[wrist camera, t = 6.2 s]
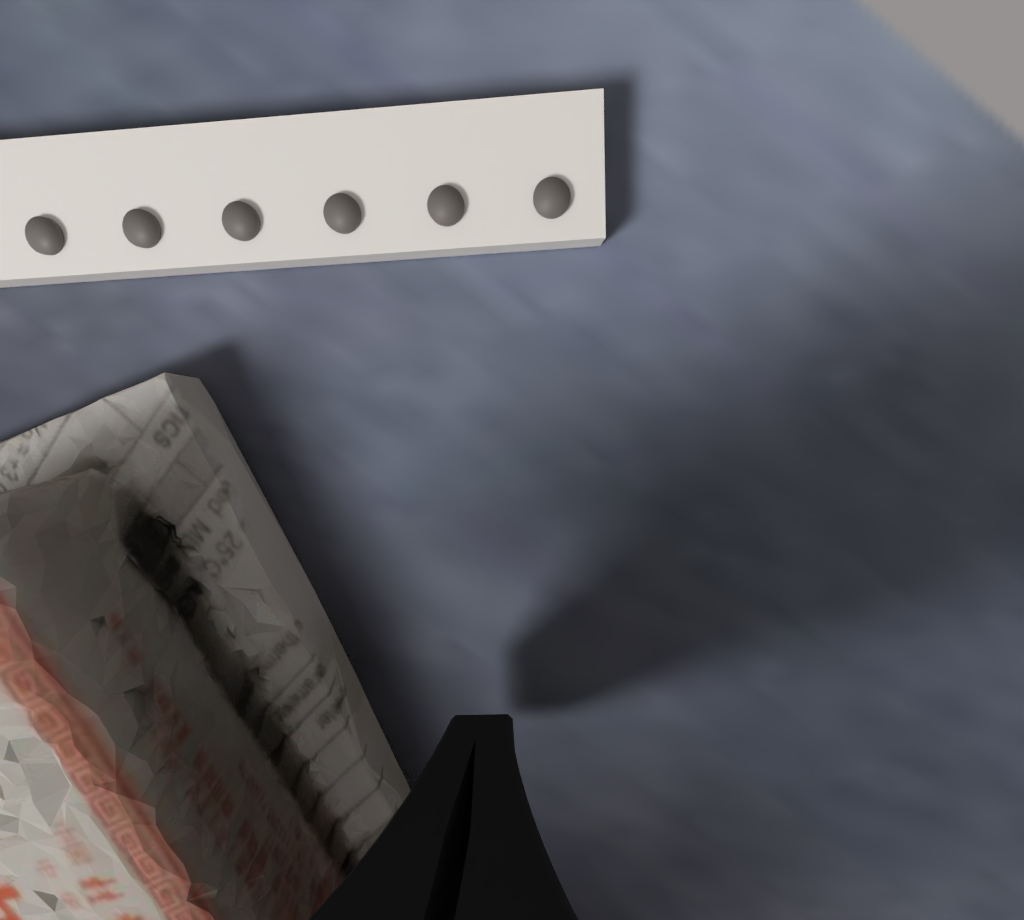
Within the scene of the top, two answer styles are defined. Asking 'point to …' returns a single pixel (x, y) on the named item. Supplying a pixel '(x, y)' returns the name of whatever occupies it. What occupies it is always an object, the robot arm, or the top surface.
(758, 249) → the top surface
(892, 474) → the top surface
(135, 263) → the perforated board
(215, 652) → the packaged product
